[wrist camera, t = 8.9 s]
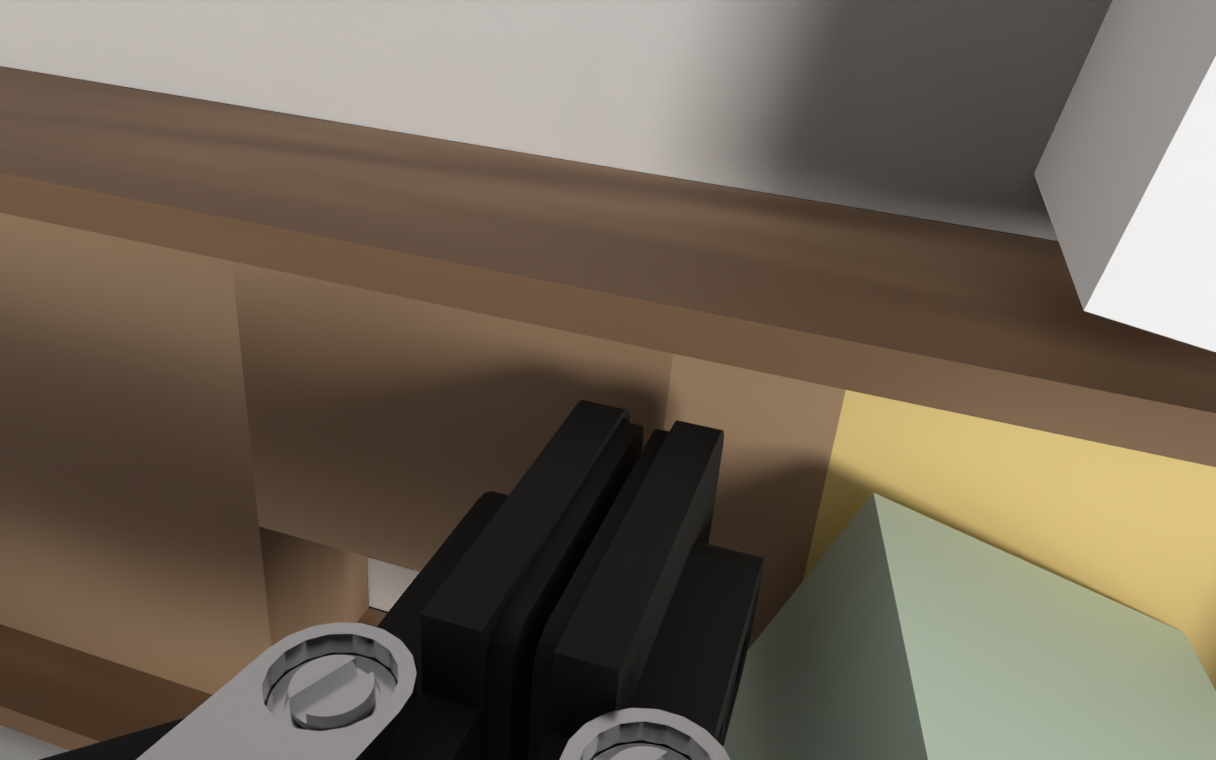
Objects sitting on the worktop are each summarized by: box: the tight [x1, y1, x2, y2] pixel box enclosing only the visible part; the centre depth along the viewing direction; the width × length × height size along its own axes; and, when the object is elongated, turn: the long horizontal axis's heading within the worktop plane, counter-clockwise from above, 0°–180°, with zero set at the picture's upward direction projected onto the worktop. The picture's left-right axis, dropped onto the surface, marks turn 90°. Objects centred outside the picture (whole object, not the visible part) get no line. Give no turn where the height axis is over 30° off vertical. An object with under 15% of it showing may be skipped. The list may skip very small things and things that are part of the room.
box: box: [0, 67, 1216, 751], centre depth 16 cm, size 10×35×4 cm, turn 85°
